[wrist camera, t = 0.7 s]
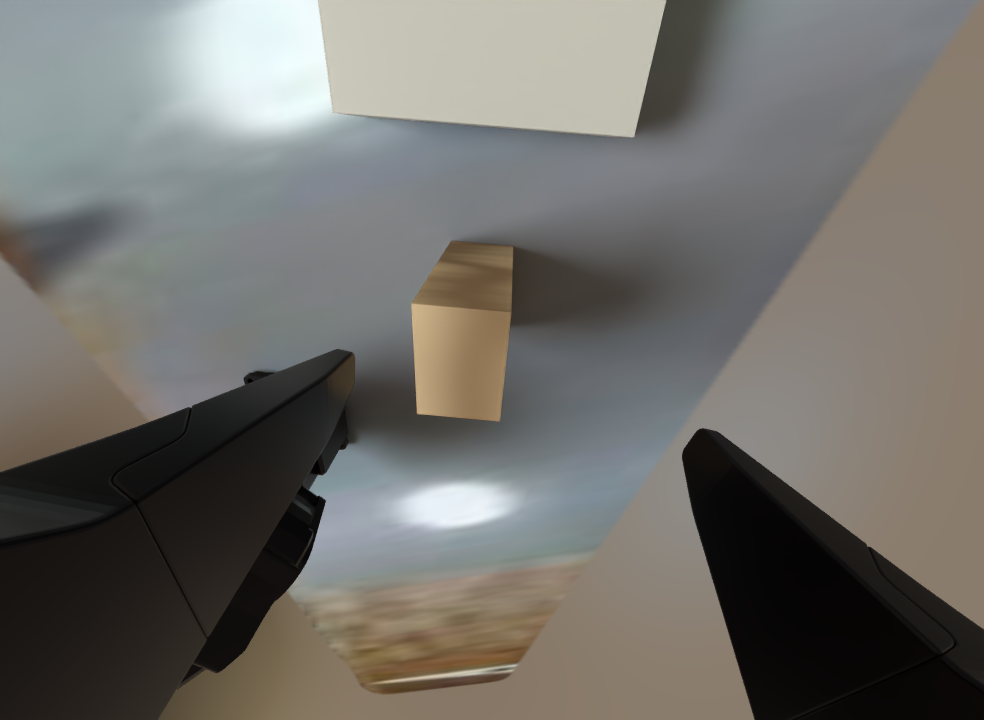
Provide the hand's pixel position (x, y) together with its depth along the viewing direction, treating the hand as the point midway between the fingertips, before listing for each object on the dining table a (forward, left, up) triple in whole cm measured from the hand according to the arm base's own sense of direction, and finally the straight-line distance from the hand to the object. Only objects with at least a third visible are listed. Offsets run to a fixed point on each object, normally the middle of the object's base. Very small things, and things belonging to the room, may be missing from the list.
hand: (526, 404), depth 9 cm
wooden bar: (-2, -2, -13) cm, 14 cm away
